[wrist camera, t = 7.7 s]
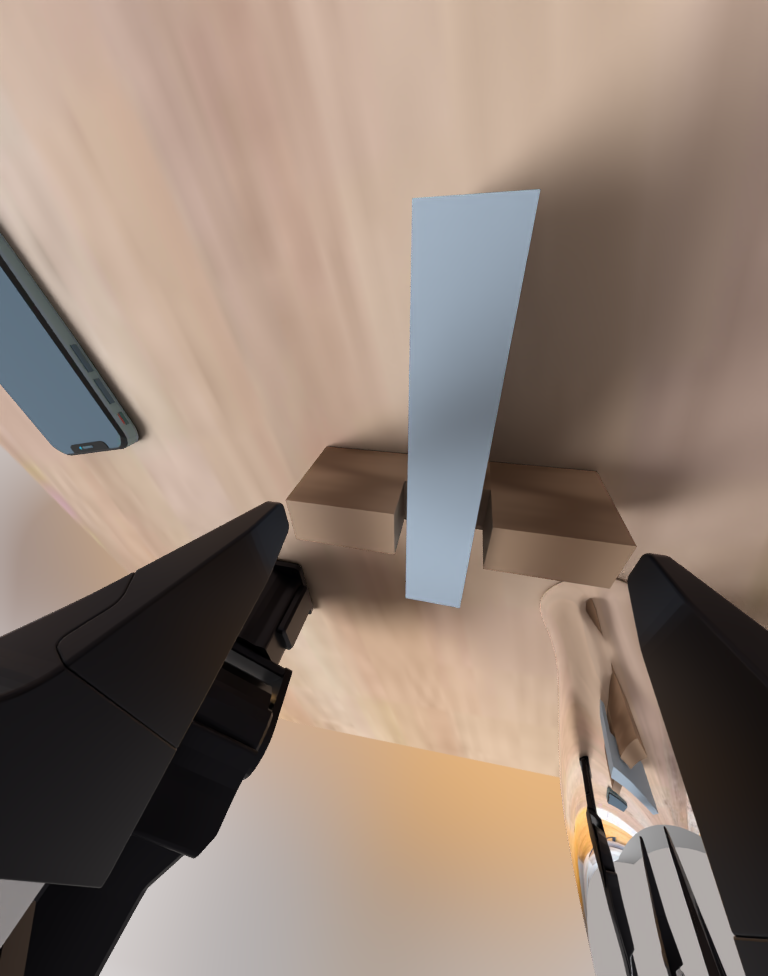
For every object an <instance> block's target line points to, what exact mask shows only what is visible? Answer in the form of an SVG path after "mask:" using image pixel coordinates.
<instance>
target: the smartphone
mask: <svg viewBox="0 0 768 976" xmlns="http://www.w3.org/2000/svg"><path fill="white" fill-rule="evenodd" d="M0 384H1V385H2V387H3V388H4V389H5V390H6V391H7V393H8V394H9V395H10V396H11V397H12V399H13V400H14V401H15V402H16V403H17V405H18V406H19V407H20V408H21V409H22V410H23V412H24V413H25V414H26V415H27V416H28V418H29V419H30V420H31V421H32V422H33V424H34V425H35V426H36V427H37V428H38V430H39V431H40V432H41V433H42V434H43V435H44V437H45V438H46V439H47V440H48V441H49V443H50V444H51V445H52V446H53V447H54V448H56V449H57V450H59V451H60V452H62V453H64V454H67V455H78V454H86V453H94V452H101V451H109V450H117V449H124V448H126V447H128V446H130V445H132V444H134V443H135V442H137V441H138V433H137V430H136V427H135V426H134V424H133V423H132V421H131V420H130V418H129V417H128V415H127V414H126V412H125V411H124V409H123V408H122V406H121V405H120V404H119V402H118V401H117V399H116V398H115V396H114V395H113V393H112V392H111V390H110V389H109V387H108V386H107V384H106V383H105V382H104V380H103V379H102V377H101V376H100V374H99V373H98V371H97V370H96V368H95V367H94V365H93V364H92V362H91V361H90V360H89V358H88V357H87V355H86V354H85V352H84V351H83V349H82V348H81V346H80V345H79V343H78V342H77V340H76V339H75V338H74V336H73V335H72V333H71V332H70V330H69V329H68V327H67V326H66V325H65V323H64V322H63V320H62V319H61V318H60V316H59V315H58V313H57V312H56V311H55V309H54V308H53V306H52V305H51V303H50V302H49V301H48V299H47V298H46V296H45V295H44V294H43V292H42V291H41V289H40V288H39V286H38V285H37V284H36V282H35V281H34V279H33V278H32V277H31V275H30V274H29V272H28V271H27V270H26V268H25V267H24V265H23V264H22V262H21V261H20V260H19V258H18V257H17V255H16V254H15V253H14V251H13V250H12V248H11V247H10V245H9V244H8V243H7V241H6V240H5V238H4V237H3V236H2V234H1V233H0Z"/></svg>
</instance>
